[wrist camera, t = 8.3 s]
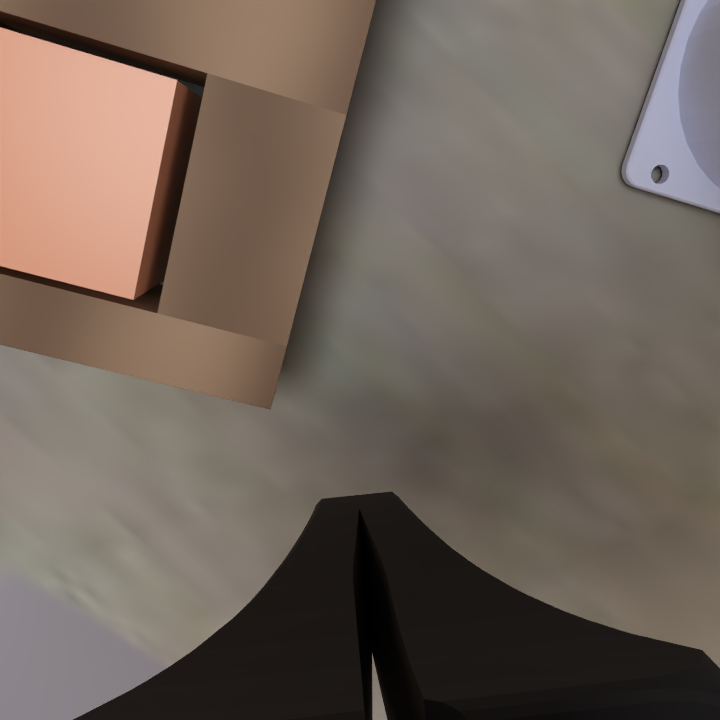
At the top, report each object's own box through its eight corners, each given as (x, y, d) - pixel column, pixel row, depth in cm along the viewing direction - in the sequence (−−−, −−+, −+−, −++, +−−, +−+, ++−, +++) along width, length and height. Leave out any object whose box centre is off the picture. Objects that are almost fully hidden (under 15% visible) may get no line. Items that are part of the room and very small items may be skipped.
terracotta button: (204, 100, 17) (177, 80, 14) (166, 278, 18) (133, 299, 15) (14, 43, 17) (-62, 8, 13) (-14, 232, 18) (-90, 242, 15)
